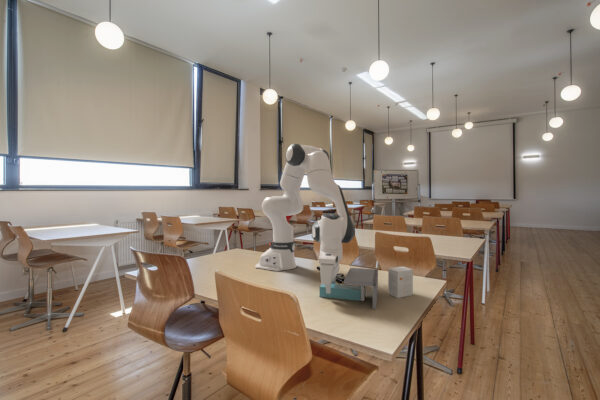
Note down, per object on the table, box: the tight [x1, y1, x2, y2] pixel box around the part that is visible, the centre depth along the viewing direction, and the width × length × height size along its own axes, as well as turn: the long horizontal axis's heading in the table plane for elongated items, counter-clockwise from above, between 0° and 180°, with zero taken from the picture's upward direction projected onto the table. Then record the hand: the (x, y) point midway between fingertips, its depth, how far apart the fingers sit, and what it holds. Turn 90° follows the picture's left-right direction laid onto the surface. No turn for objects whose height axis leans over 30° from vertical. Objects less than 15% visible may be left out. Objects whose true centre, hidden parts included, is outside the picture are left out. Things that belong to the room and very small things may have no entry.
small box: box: [387, 265, 414, 299], centre depth 119 cm, size 8×6×10 cm
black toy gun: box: [316, 265, 346, 285], centre depth 148 cm, size 28×2×10 cm
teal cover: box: [319, 283, 362, 302], centre depth 117 cm, size 16×5×4 cm, turn 73°
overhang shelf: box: [343, 267, 379, 310], centre depth 115 cm, size 11×18×10 cm, turn 163°
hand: (331, 289), depth 118 cm, fingers open, 8 cm apart
